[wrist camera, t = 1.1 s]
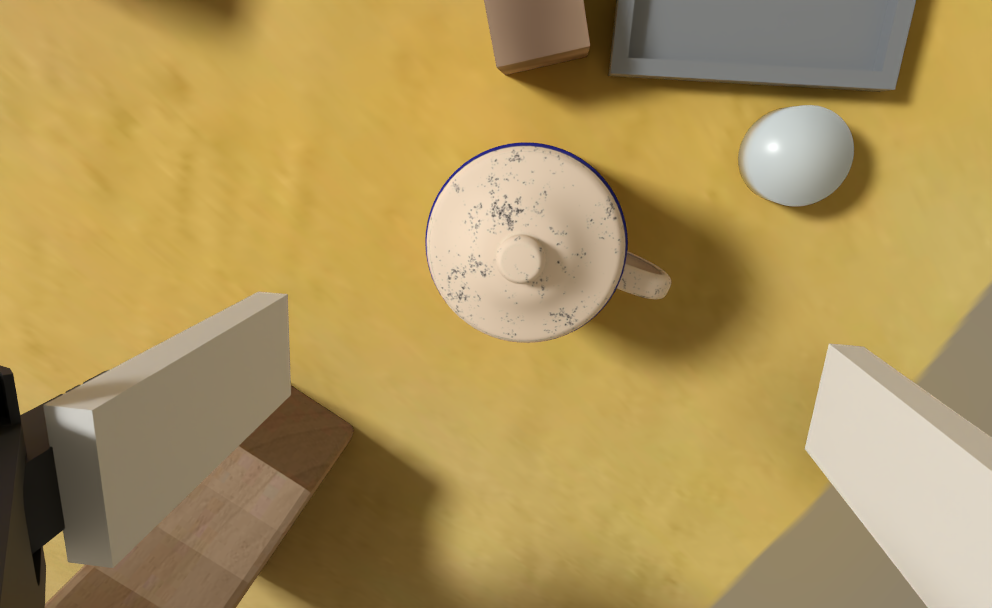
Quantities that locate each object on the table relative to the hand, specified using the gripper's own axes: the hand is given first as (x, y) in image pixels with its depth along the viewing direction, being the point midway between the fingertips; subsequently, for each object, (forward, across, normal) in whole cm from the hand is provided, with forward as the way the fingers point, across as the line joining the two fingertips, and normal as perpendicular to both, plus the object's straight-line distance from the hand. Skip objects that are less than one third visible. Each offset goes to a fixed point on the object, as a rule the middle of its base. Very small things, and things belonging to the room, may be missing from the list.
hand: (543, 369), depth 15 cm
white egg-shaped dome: (+22, +12, +5) cm, 25 cm away
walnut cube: (+22, -2, +11) cm, 24 cm away
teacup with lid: (+22, 0, 0) cm, 22 cm away
